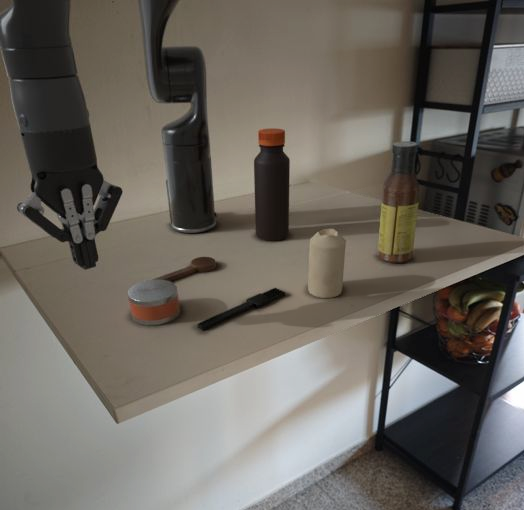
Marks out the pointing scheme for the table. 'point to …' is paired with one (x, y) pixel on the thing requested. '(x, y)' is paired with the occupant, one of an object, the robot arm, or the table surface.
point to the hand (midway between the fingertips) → (87, 266)
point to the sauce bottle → (399, 205)
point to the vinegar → (271, 186)
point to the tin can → (154, 302)
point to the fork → (243, 307)
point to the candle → (326, 263)
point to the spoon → (191, 268)
